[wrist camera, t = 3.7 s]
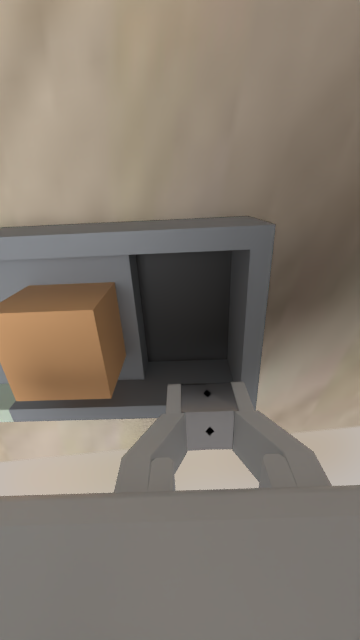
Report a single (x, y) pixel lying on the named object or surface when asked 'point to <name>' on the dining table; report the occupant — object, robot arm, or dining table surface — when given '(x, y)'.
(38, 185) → the dining table surface
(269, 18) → the dining table surface
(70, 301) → the orange block
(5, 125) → the dining table surface
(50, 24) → the dining table surface
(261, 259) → the box
